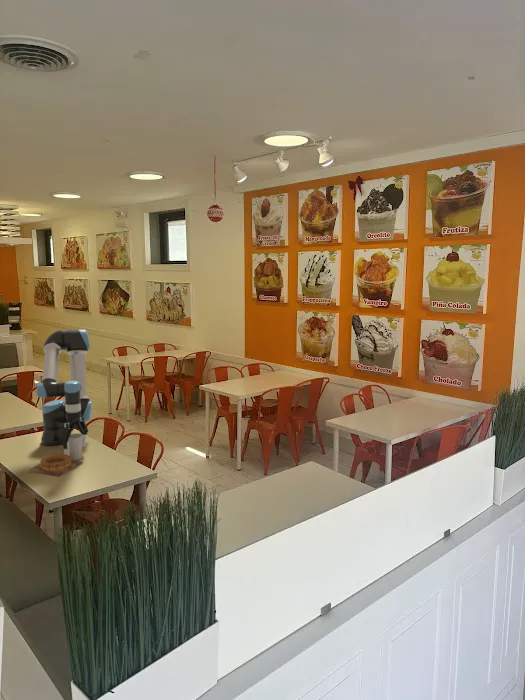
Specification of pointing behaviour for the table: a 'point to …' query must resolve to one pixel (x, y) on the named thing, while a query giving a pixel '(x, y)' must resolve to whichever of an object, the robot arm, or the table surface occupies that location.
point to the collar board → (57, 472)
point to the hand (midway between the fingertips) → (75, 450)
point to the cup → (75, 446)
